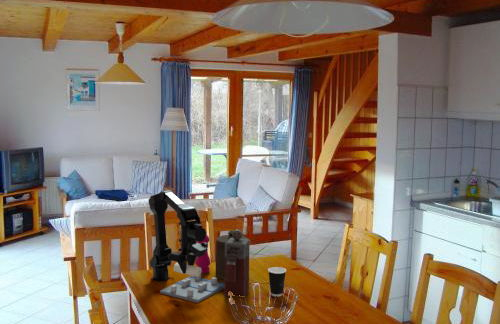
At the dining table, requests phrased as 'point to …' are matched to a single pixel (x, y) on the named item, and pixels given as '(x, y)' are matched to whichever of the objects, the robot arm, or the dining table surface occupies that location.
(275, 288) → the dixie cup
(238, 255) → the dark jug
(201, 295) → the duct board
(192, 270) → the white cylinder
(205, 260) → the pepper mill
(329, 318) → the dining table surface
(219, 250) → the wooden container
